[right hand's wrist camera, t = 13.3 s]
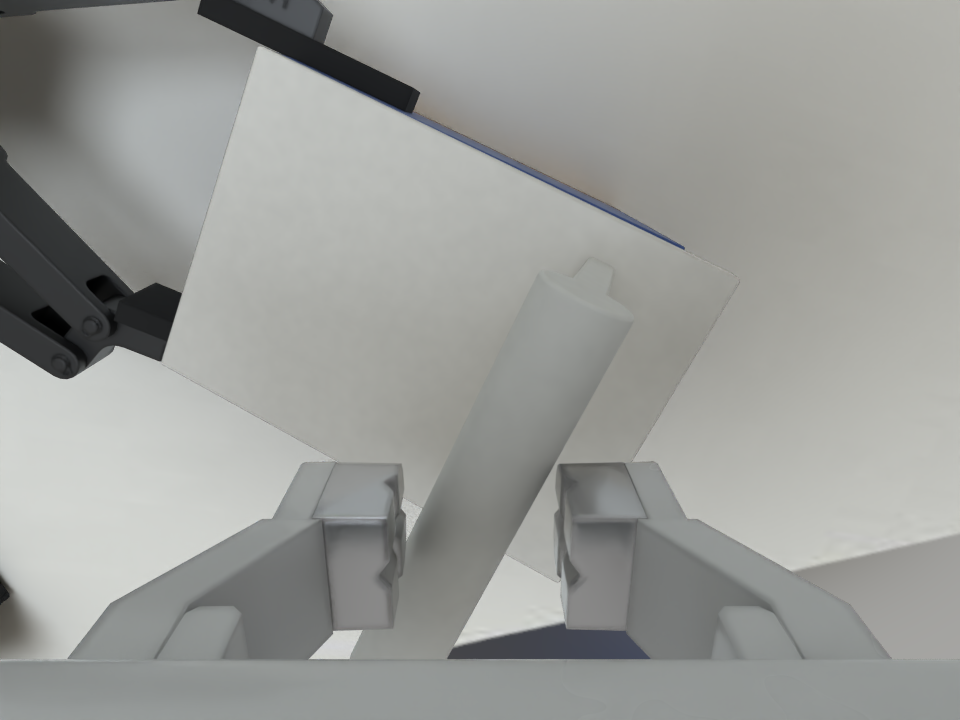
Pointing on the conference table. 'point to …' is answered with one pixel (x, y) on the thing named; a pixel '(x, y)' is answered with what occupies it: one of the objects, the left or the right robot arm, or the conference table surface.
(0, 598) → the black portable game device
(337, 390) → the lid
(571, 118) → the conference table surface
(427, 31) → the conference table surface
